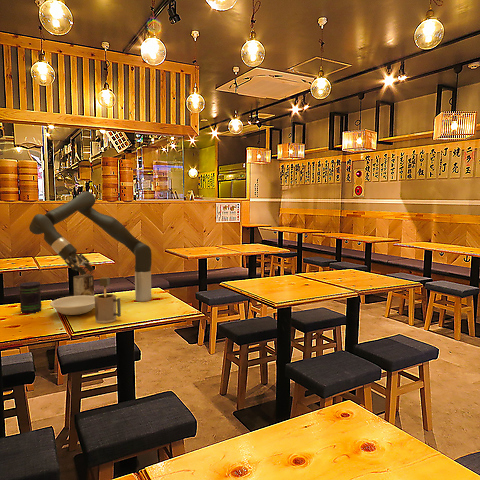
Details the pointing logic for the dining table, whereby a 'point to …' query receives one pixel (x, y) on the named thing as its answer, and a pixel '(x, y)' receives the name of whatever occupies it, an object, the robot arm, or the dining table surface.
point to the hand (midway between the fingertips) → (88, 272)
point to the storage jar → (30, 297)
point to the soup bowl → (74, 304)
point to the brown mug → (107, 308)
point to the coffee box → (83, 285)
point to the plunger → (104, 283)
